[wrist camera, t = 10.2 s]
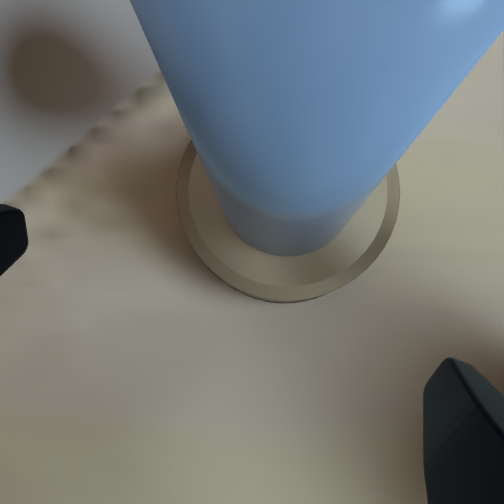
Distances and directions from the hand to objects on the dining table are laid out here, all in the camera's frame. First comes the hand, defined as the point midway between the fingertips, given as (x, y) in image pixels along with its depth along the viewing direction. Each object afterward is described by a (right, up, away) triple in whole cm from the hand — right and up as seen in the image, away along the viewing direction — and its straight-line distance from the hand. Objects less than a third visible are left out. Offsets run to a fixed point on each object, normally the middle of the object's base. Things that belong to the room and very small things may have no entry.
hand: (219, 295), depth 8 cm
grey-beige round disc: (+2, +3, +11) cm, 12 cm away
